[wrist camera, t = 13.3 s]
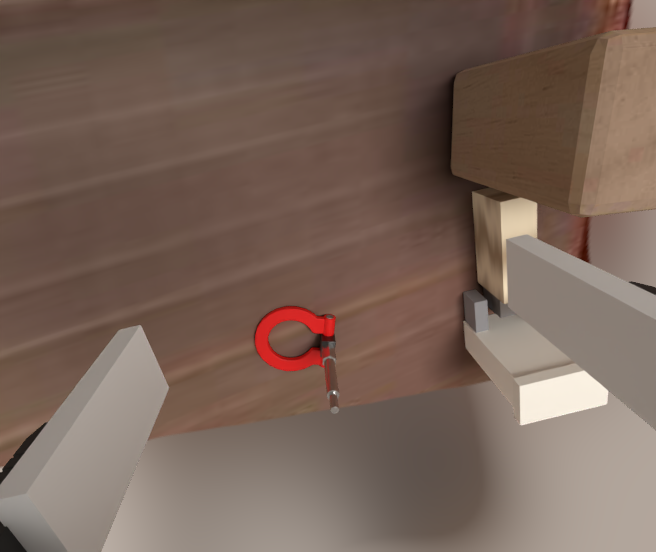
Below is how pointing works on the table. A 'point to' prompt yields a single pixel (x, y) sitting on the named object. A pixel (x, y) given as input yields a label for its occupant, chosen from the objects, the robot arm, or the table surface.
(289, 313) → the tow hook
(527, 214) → the rail
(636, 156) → the block
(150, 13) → the table surface
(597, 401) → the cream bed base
